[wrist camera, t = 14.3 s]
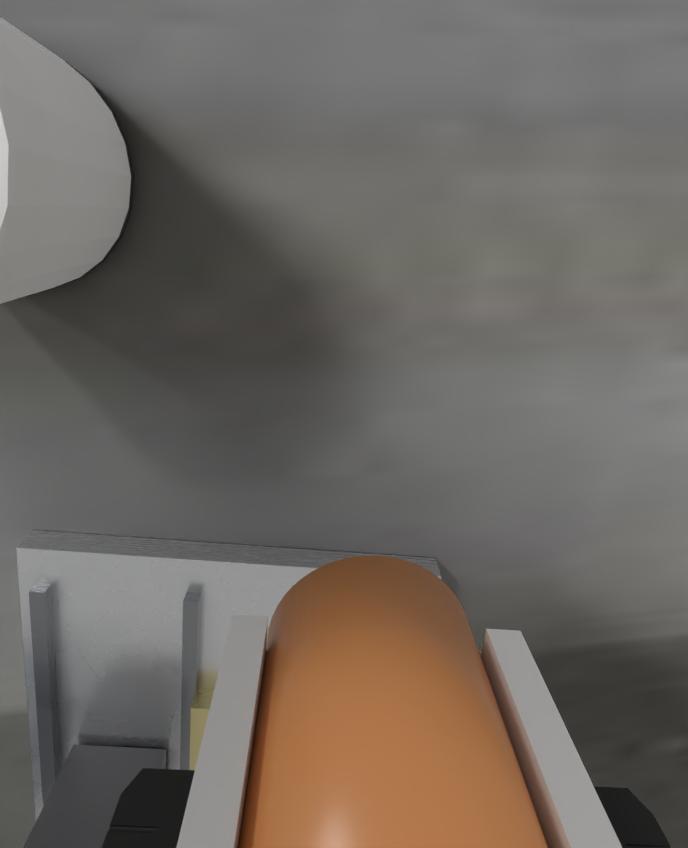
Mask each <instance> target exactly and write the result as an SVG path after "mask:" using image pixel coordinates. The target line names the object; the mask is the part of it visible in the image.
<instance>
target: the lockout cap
mask: <svg viewBox="0 0 688 848" xmlns="http://www.w3.org/2000/svg"><path fill="white" fill-rule="evenodd" d="M238 848H548V846H547V843H546V840H545V837H544V834H543V832H542V829H541V826H540V823H539V820H538V817H537V815H536V812H535V809H534V806H533V803H532V800H531V798H530V795H529V792H528V789H527V786H526V783H525V781H524V778H523V775H522V772H521V769H520V766H519V764H518V761H517V758H516V755H515V752H514V749H513V747H512V744H511V741H510V738H509V735H508V732H507V730H506V727H505V724H504V721H503V718H502V715H501V713H500V710H499V707H498V704H497V701H496V698H495V696H494V693H493V690H492V687H491V684H490V681H489V679H488V676H487V673H486V670H485V667H484V664H483V662H482V659H481V656H480V653H479V650H478V647H477V645H476V642H475V639H474V636H473V633H472V630H471V628H470V625H469V622H468V619H467V616H466V614H465V611H464V609H463V606H462V605H461V603H460V601H459V599H458V598H457V596H456V595H455V594H454V592H453V591H452V590H451V589H450V587H449V586H448V585H446V584H445V583H444V582H443V581H442V580H441V579H440V578H439V577H437V576H436V575H434V574H433V573H432V572H430V571H428V570H427V569H425V568H423V567H421V566H419V565H417V564H414V563H411V562H409V561H406V560H402V559H398V558H394V557H387V556H367V555H365V556H356V557H349V558H345V559H341V560H337V561H334V562H331V563H329V564H326V565H324V566H322V567H320V568H318V569H316V570H314V571H312V572H310V573H309V574H307V575H306V576H304V577H303V578H301V579H300V580H299V581H298V582H297V583H296V584H295V585H293V586H292V587H291V588H290V590H289V591H288V592H287V593H286V594H285V595H284V596H283V598H282V600H281V601H280V603H279V604H278V606H277V607H276V610H275V612H274V614H273V616H272V618H271V622H270V625H269V629H268V635H267V645H266V656H265V663H264V670H263V677H262V684H261V691H260V698H259V705H258V712H257V719H256V726H255V733H254V740H253V748H252V755H251V762H250V769H249V776H248V783H247V790H246V797H245V804H244V811H243V818H242V825H241V832H240V839H239V846H238Z"/></svg>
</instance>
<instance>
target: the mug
mask: <svg viewBox="0 0 688 848" xmlns="http://www.w3.org/2000/svg"><path fill="white" fill-rule="evenodd" d="M133 179H134V177H133V171H132V165H131V159H130V154H129V148H128V144H127V141H126V139H125V137H124V134H123V132H122V130H121V128H120V125H119V123H118V121H117V118H116V116H115V114H114V112H113V111H112V109H111V108H110V107H109V105H108V104H107V103H106V101H105V100H104V98H103V97H102V96H101V94H100V93H99V92H98V90H97V89H96V88H95V86H94V85H93V84H92V83H91V82H90V81H88V80H87V79H86V78H85V77H84V76H82V75H81V74H80V73H79V72H78V71H77V70H75V69H74V68H73V67H72V66H71V65H69V64H68V63H67V62H66V61H64V60H63V59H61V58H60V57H58V56H57V55H55V54H54V53H52V52H51V51H50V50H48V49H47V48H45V47H44V46H42V45H41V44H39V43H38V42H36V41H35V40H33V39H32V38H30V37H29V36H28V35H26V34H25V33H23V32H22V31H20V30H19V29H17V28H16V27H14V26H13V25H11V24H10V23H8V22H7V21H6V20H4V19H3V18H1V17H0V304H2V303H5V302H8V301H11V300H15V299H18V298H21V297H25V296H28V295H31V294H34V293H38V292H41V291H44V290H47V289H51V288H54V287H58V286H60V285H63V284H65V283H68V282H70V281H73V280H76V279H78V278H81V277H83V276H85V275H86V274H87V273H88V272H90V271H91V270H92V269H94V268H95V267H96V266H97V265H99V264H100V263H101V262H103V261H104V260H105V259H106V258H107V256H108V255H109V253H110V252H111V251H112V249H113V248H114V246H115V245H116V243H117V242H118V241H119V239H120V238H121V236H122V234H123V231H124V228H125V225H126V222H127V219H128V217H129V214H130V211H131V206H132V192H133Z"/></svg>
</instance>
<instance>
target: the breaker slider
mask: <svg viewBox="0 0 688 848" xmlns="http://www.w3.org/2000/svg"><path fill="white" fill-rule="evenodd" d="M142 768H154V769H166V749H149V748H130V747H111V746H92V745H73V747H72V749H71V751H70V753H69V755H68V757H67V759H66V761H65V763H64V765H63V767H62V769H61V771H60V773H59V776H58V778H57V780H56V782H55V784H54V786H53V788H52V790H51V792H50V794H49V796H48V798H47V800H46V802H45V804H44V806H43V808H42V811H41V813H40V815H39V817H38V819H37V821H36V823H35V825H34V827H33V829H32V831H31V833H30V835H29V837H28V839H27V841H26V843H25V846H24V848H102V845H103V842H104V840H105V837H106V834H107V831H109V828H110V823H111V820H112V817H113V814H114V812H115V809H116V806H117V803H118V801H119V798H120V795H121V793H122V792H123V791H124V790H125V788H126V787H127V786H128V785H129V784H130V783H131V781H132V780H133V779H134V778H135V777H136V775H137V774H138V773H139V772H140V771H141V770H142Z"/></svg>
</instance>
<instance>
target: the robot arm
mask: <svg viewBox="0 0 688 848" xmlns="http://www.w3.org/2000/svg"><path fill="white" fill-rule="evenodd" d="M267 627H268V616H258V615H241V614H232V618H231V622H230V627H229V631H228V635H227V639H226V643H225V647H224V651H223V656H222V660H221V664H220V668H219V672H218V676H217V681H216V685H215V689H214V693H213V697H212V701H211V706H210V710H209V714H208V718H207V722H206V726H205V730H204V735H203V739H202V743H201V747H200V751H199V755H198V760H197V764H196V768H195V770H176V769H154V768H142V770H141V771H140V772H139V773H138V774H137V775H136V777H135V778H134V779H133V780H132V781H131V783H130V784H129V785H128V786H127V787H126V788H125V790H124V791H123V792H122V793H121V795H120V798H119V801H118V803H117V806H116V809H115V812H114V814H113V817H112V820H111V823H110V828H109V831H107V834H106V837H105V840H104V842H103V845H102V848H238V846H239V839H240V832H241V825H242V818H243V811H244V804H245V797H246V790H247V783H248V776H249V769H250V762H251V755H252V748H253V740H254V733H255V726H256V719H257V712H258V705H259V698H260V691H261V684H262V677H263V670H264V663H265V656H266V645H267ZM481 659H482V662H483V664H484V667H485V670H486V673H487V676H488V679H489V681H490V684H491V687H492V690H493V693H494V696H495V698H496V701H497V704H498V707H499V710H500V713H501V715H502V718H503V721H504V724H505V727H506V730H507V732H508V735H509V738H510V741H511V744H512V747H513V749H514V752H515V755H516V758H517V761H518V764H519V766H520V769H521V772H522V775H523V778H524V781H525V783H526V786H527V789H528V792H529V795H530V798H531V800H532V803H533V806H534V809H535V812H536V815H537V817H538V820H539V823H540V826H541V829H542V832H543V834H544V837H545V840H546V843H547V846H548V848H670V845H669V843H668V841H667V839H666V837H665V836H664V834H663V832H662V830H661V828H660V826H659V825H658V823H657V821H656V819H655V817H654V815H653V814H652V813H651V812H650V811H649V810H648V809H647V808H646V807H645V806H644V805H643V804H642V803H641V802H640V801H639V800H638V799H637V798H636V797H635V796H634V795H633V794H632V792H631V791H630V790H629V789H628V788H612V787H594V786H593V784H592V782H591V780H590V778H589V776H588V773H587V771H586V769H585V767H584V765H583V763H582V761H581V759H580V756H579V754H578V752H577V750H576V748H575V746H574V744H573V741H572V739H571V737H570V735H569V733H568V731H567V729H566V727H565V724H564V722H563V720H562V718H561V716H560V714H559V712H558V710H557V707H556V705H555V703H554V701H553V699H552V697H551V695H550V692H549V690H548V688H547V686H546V684H545V682H544V680H543V678H542V675H541V673H540V671H539V669H538V667H537V665H536V663H535V661H534V658H533V656H532V654H531V652H530V650H529V648H528V646H527V643H526V641H525V639H524V637H523V635H522V633H521V631H518V630H501V629H486V633H485V638H484V644H483V650H482V655H481Z"/></svg>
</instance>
